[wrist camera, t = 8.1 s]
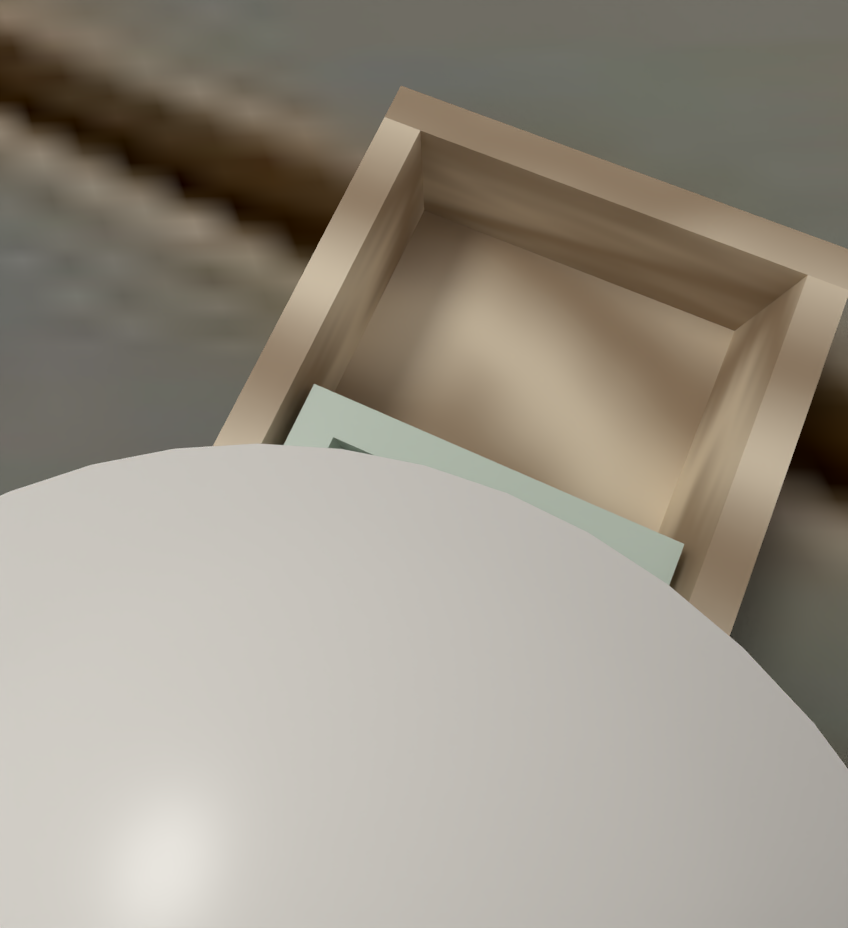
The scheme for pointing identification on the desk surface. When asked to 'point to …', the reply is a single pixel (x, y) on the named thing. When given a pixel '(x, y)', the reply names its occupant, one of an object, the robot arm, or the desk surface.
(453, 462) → the tray
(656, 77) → the desk surface
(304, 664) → the white rounded cylinder
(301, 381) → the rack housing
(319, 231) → the desk surface
